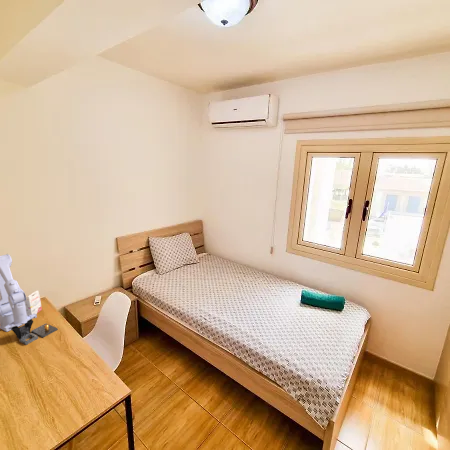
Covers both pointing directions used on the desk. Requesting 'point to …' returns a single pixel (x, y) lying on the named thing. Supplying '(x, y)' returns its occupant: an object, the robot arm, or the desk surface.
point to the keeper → (44, 330)
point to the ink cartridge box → (33, 303)
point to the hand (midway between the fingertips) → (23, 335)
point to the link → (26, 335)
